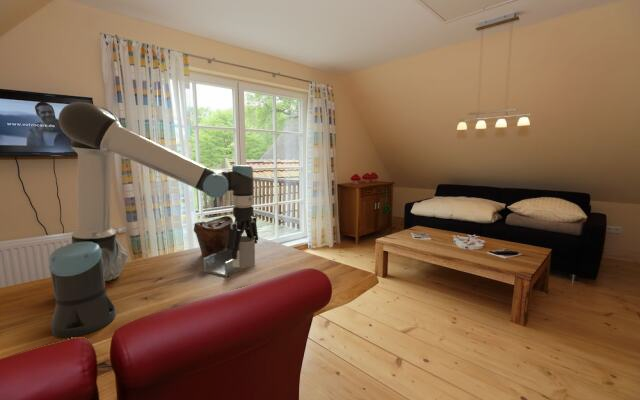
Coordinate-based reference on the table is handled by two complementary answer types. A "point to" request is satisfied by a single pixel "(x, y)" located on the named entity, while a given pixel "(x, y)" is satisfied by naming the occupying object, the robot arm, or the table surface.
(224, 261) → the silver open box
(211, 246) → the case
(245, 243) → the cup
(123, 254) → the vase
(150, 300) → the table surface
